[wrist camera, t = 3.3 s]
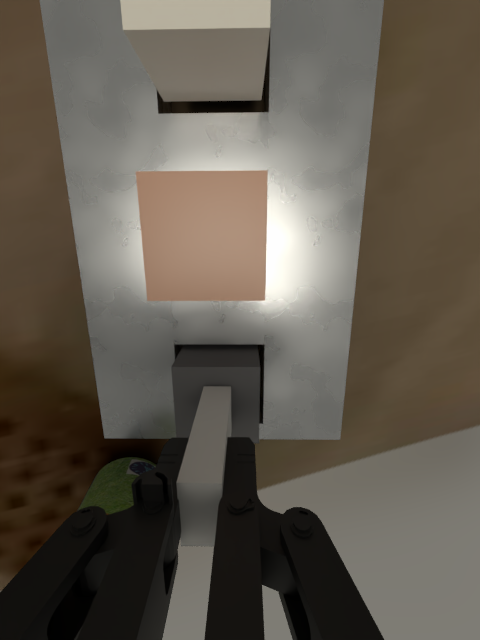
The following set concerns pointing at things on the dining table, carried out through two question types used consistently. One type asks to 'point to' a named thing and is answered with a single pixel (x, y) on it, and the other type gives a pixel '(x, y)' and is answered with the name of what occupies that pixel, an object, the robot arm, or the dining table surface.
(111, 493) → the beverage can
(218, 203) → the terracotta key
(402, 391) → the dining table surface
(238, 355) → the charcoal key
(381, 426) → the dining table surface
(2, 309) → the dining table surface
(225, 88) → the cream key
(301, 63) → the key panel
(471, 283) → the dining table surface
